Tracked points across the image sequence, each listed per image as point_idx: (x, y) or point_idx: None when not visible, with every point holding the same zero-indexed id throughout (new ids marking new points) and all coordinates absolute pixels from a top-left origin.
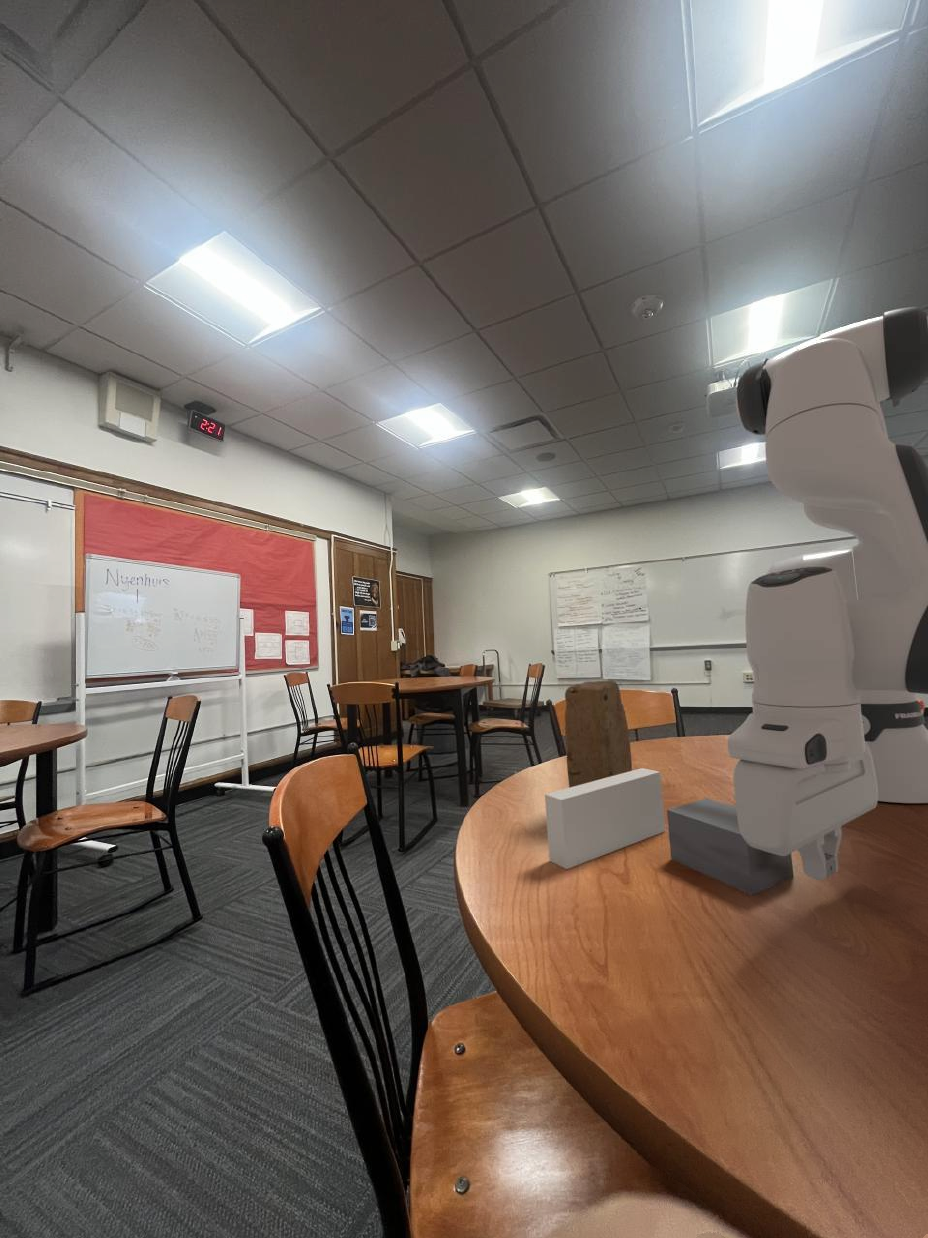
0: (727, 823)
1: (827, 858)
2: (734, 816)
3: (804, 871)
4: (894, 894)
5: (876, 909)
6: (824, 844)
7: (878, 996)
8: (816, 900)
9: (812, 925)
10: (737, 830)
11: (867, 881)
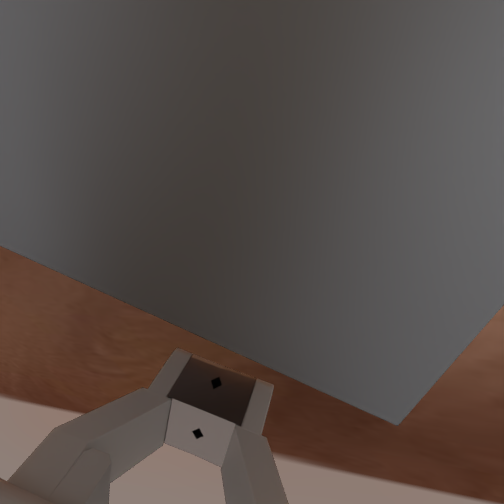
0: (79, 42)
1: (187, 449)
2: (324, 23)
3: (174, 351)
4: (388, 450)
5: (279, 408)
6: (236, 483)
7: (11, 370)
8: None
9: (120, 304)
10: (12, 166)
11: (449, 418)
